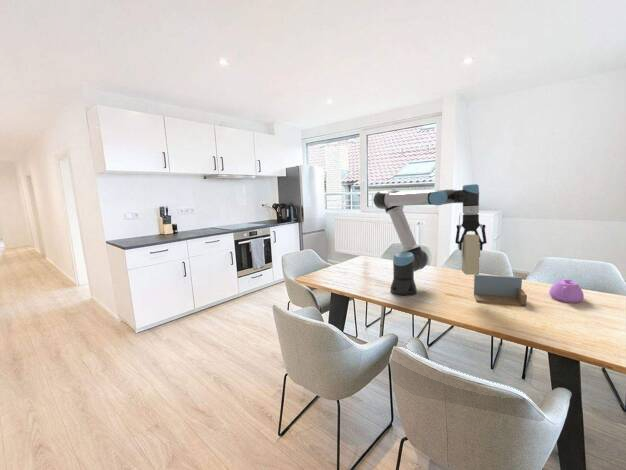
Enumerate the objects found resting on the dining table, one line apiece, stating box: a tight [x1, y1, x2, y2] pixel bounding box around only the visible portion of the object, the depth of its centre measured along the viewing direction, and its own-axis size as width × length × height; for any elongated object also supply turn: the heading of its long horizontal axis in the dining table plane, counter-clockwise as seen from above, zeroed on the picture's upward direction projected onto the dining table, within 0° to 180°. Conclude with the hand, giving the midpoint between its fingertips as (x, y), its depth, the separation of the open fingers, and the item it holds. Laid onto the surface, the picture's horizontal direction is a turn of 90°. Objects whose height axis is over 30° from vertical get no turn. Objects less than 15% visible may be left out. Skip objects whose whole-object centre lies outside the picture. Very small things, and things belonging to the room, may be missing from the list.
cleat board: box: [473, 273, 528, 308], centre depth 156 cm, size 22×12×12 cm, turn 68°
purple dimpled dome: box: [548, 278, 585, 304], centre depth 154 cm, size 14×20×11 cm
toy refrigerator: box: [461, 233, 480, 276], centre depth 157 cm, size 8×7×21 cm
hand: (470, 256), depth 157 cm, fingers closed on toy refrigerator, 7 cm apart
